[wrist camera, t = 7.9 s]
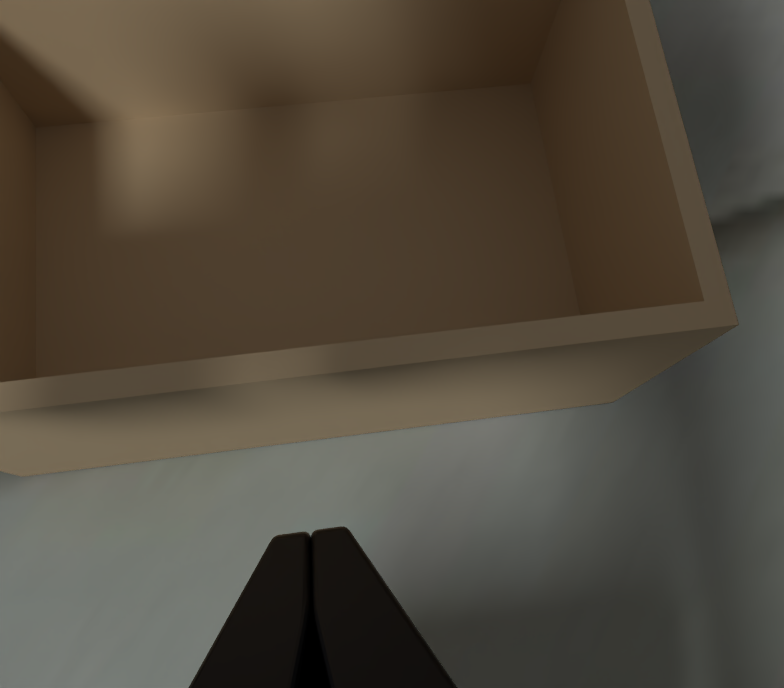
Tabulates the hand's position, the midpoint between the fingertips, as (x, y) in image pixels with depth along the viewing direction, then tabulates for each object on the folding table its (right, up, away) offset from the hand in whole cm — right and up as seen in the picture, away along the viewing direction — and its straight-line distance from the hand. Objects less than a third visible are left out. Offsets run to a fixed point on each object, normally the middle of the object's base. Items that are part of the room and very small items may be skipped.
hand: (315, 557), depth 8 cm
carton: (-2, +5, +16) cm, 17 cm away
